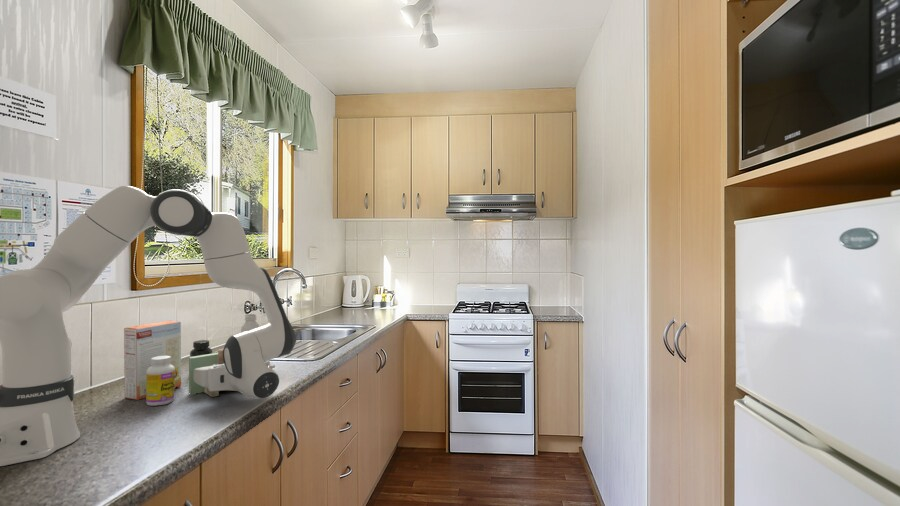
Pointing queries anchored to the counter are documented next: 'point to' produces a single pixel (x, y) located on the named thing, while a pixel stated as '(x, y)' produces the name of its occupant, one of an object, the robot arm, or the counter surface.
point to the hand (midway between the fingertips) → (224, 365)
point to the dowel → (220, 358)
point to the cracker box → (149, 354)
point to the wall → (198, 363)
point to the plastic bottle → (249, 323)
